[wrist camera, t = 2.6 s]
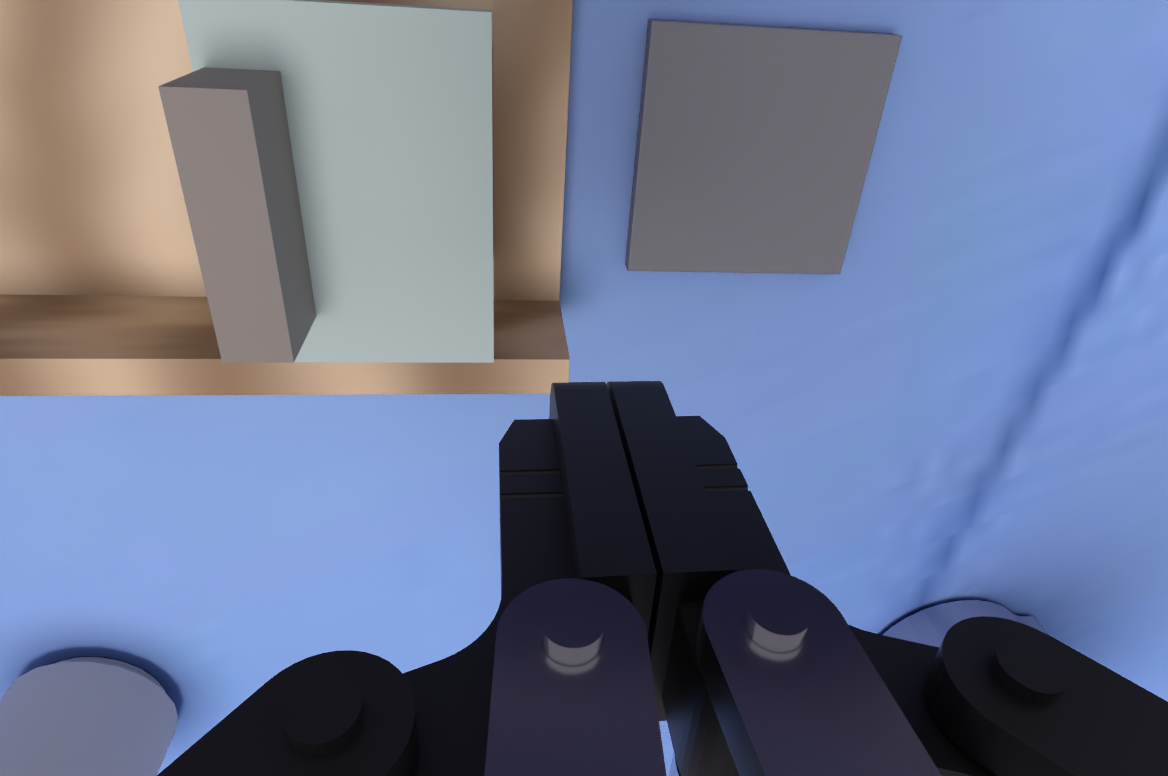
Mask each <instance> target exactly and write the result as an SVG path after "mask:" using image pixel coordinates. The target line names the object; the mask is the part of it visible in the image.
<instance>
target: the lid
mask: <svg viewBox="0 0 1168 776" xmlns="http://www.w3.org/2000/svg"><path fill="white" fill-rule="evenodd" d="M178 3H179V8H180V12H181V17H182V22H183V27H184V32H185V37H186V41H187V46H188V51H189V56H190V61H191V66H192V71H193V72H191V73H189V74H187V75H184V76H182V77H179V78H177V79H175V80H172V81H170V82H167V83H165V84H163V85H160V86H158V88H159V92H160V96H161V101H162V105H163V109H164V114H165V118H166V122H167V127H168V131H169V135H170V139H171V144H172V148H173V152H174V157H175V161H176V165H177V170H178V174H179V178H180V183H181V187H182V191H183V196H184V200H185V204H186V209H187V213H188V217H189V221H190V226H191V230H192V234H193V239H194V243H195V247H196V252H197V256H198V260H199V265H200V269H201V273H202V278H203V282H204V286H205V291H206V295H207V299H208V303H209V308H210V312H211V316H212V321H213V325H214V329H215V334H216V338H217V342H218V347H219V351H220V355H221V360H222V363H294V362H397V363H494V291H493V133H492V10H479V9H462V8H445V7H429V6H412V5H395V4H378V3H361V2H344V1H327V0H178Z"/></svg>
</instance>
